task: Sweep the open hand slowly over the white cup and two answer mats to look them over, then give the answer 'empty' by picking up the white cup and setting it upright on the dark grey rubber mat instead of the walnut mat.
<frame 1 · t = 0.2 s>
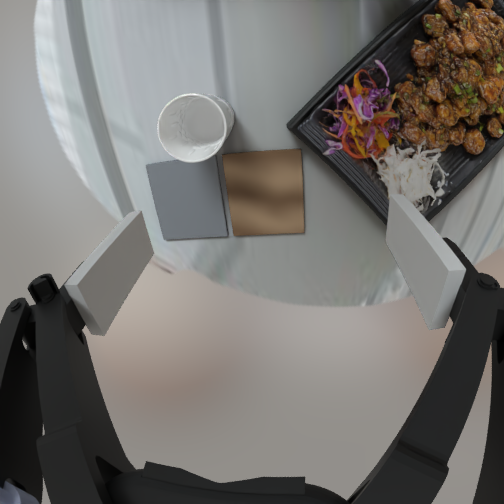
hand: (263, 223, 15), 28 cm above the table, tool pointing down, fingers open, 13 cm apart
food platter: (443, 86, 31), on the table
white cup: (211, 118, 38), on the table
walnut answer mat: (265, 193, 43), on the table
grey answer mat: (187, 199, 45), on the table
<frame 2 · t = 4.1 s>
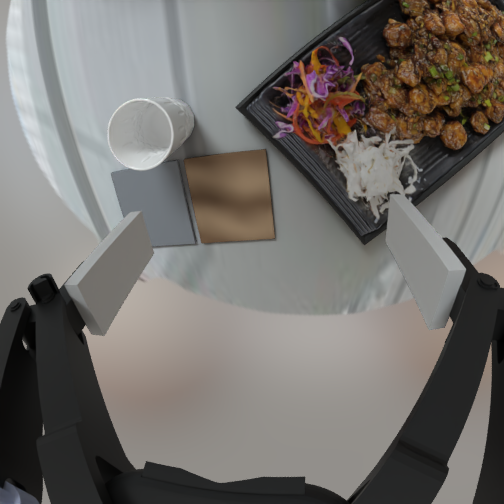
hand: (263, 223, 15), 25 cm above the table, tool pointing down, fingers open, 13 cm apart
food platter: (423, 74, 29), on the table
white cup: (171, 121, 36), on the table
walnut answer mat: (231, 198, 41), on the table
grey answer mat: (153, 206, 43), on the table
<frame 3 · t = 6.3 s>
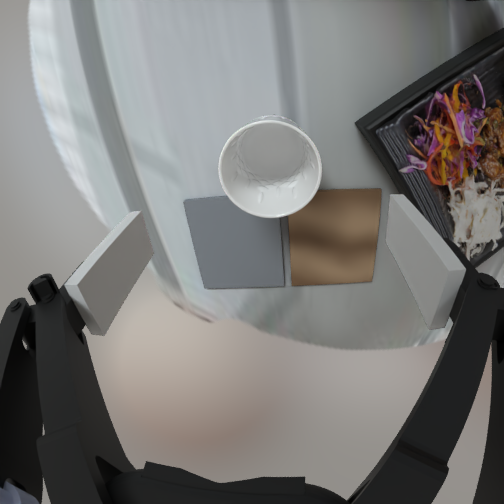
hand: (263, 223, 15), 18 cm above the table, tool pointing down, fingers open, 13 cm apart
white cup: (273, 144, 30), on the table
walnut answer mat: (333, 239, 35), on the table
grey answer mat: (237, 244, 37), on the table
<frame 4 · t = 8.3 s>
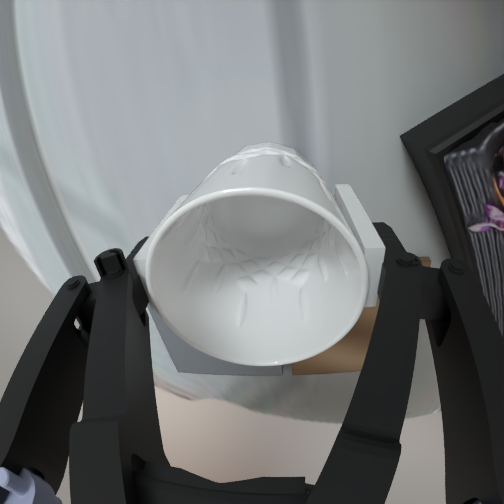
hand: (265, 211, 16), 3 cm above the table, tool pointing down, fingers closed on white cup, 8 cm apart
white cup: (267, 192, 19), on the table, touching gripper
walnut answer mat: (354, 323, 24), on the table
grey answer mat: (216, 328, 25), on the table
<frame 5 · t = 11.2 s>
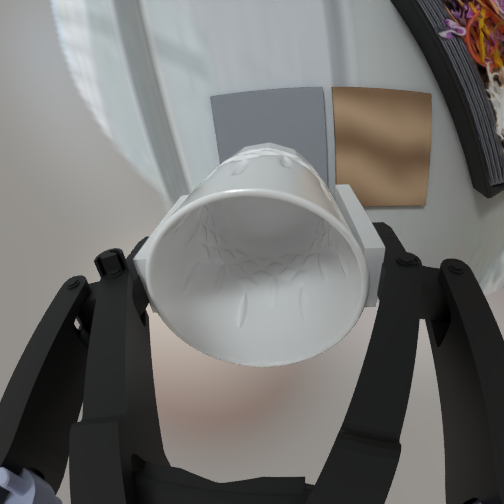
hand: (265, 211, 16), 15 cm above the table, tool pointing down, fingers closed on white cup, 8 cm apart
white cup: (267, 192, 19), point 13 cm above the table, touching gripper
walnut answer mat: (384, 148, 28), on the table
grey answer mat: (272, 150, 29), on the table
when the fingers open (4 cm above the table, at t = 14.1 s): white cup moves 1 cm, resting on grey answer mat.
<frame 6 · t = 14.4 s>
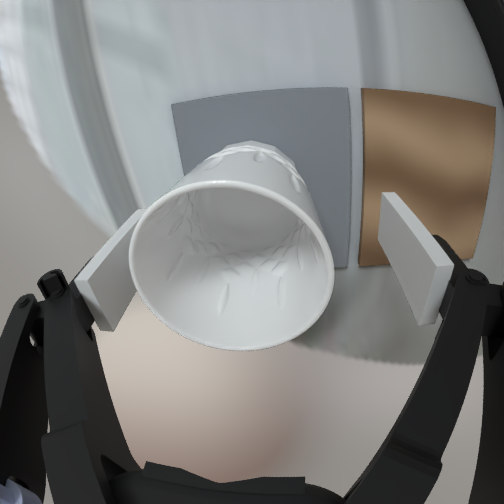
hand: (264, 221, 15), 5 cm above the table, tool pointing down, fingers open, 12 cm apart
white cup: (251, 188, 19), resting on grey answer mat
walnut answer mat: (431, 182, 18), on the table
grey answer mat: (268, 186, 20), on the table
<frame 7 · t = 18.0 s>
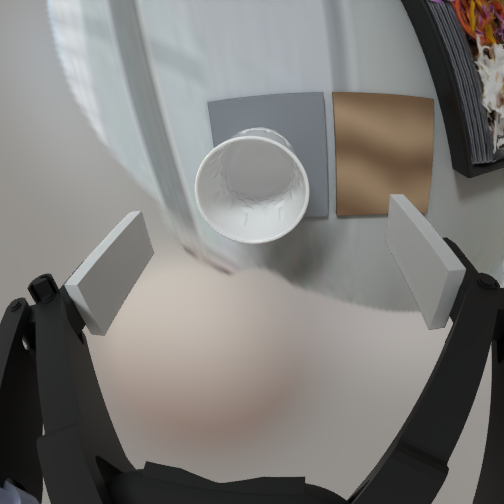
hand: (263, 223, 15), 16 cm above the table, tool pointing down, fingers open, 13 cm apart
white cup: (260, 159, 28), resting on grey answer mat
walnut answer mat: (385, 154, 27), on the table
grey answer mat: (271, 158, 29), on the table
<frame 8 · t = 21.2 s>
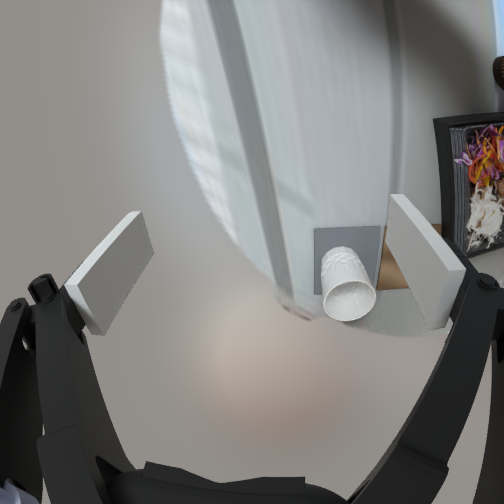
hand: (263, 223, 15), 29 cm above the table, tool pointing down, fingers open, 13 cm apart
white cup: (339, 262, 49), resting on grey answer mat
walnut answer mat: (408, 257, 48), on the table
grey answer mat: (345, 260, 49), on the table
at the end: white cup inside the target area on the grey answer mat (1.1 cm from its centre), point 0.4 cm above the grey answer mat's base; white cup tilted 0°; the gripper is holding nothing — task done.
